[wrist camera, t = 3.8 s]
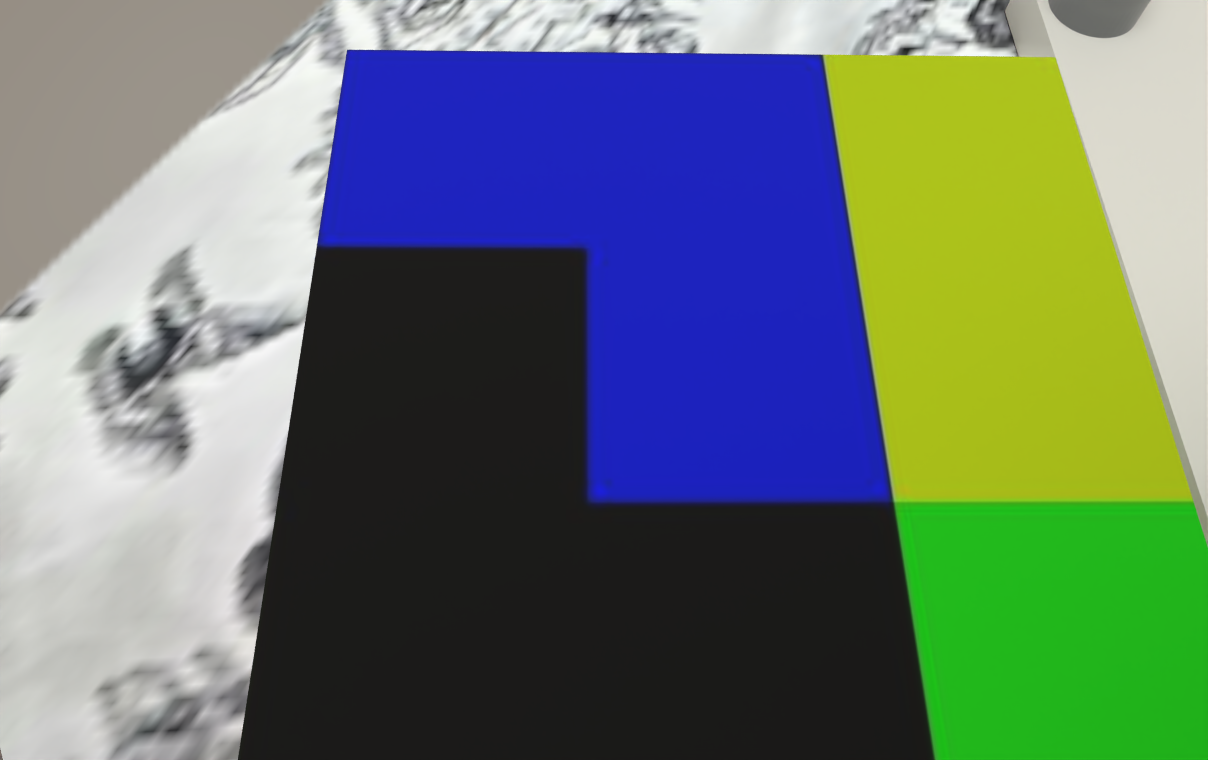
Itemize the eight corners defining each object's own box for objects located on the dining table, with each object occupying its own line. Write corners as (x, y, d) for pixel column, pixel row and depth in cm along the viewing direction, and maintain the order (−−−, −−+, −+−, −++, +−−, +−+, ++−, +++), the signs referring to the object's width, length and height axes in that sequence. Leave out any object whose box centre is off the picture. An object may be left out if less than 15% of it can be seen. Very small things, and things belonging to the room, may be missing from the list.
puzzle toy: (439, 379, 22) (347, 50, 13) (866, 380, 22) (1055, 56, 14) (402, 861, 18) (224, 849, 9) (940, 854, 18) (1297, 836, 9)
